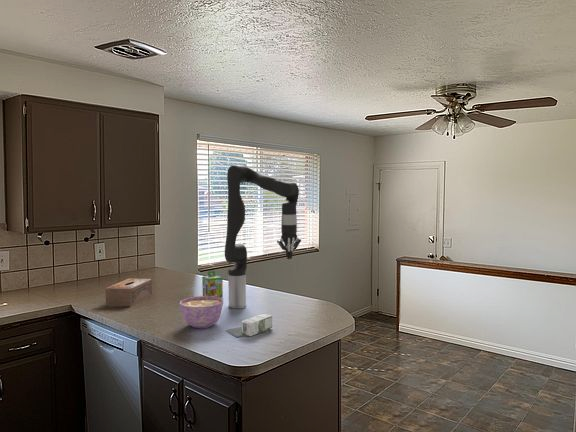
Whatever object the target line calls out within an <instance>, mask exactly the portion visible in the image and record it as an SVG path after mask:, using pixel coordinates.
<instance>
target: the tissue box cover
mask: <svg viewBox="0 0 576 432" xmlns="http://www.w3.org/2000/svg"><path fill="white" fill-rule="evenodd" d="M151 295H152V296H153V279H152V278H127V279H124V280H122V281H120V282H118V283H115V284H112V285H110V286H108V287H106V288H105V306H106V307H122V306H132V307H134V306H135V305H137V304H139V303H141V302H143V301H144V300H146V299H148V298H150V297H151ZM142 300H143V301H142ZM140 301H141V302H140ZM138 302H139V303H138ZM136 303H137V304H136Z"/></svg>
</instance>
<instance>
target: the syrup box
mask: <svg viewBox="0 0 576 432" xmlns="http://www.w3.org/2000/svg"><path fill="white" fill-rule="evenodd" d="M241 327H242V334H244V335H247V336H249V337H252V336H255V335H257V334H261V333H260V332H262V333H264V332H263V331H265V330H270V329H272V328H273V315H269V314H267V313H261V314H259V315H256V316H253V317H250V318H247V319H243V320H242V321H241Z"/></svg>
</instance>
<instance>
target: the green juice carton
mask: <svg viewBox="0 0 576 432" xmlns="http://www.w3.org/2000/svg"><path fill="white" fill-rule="evenodd" d="M223 279H224V278H223V277H222V276H219V275H217V274H216V271H215V270H209V271H207V275H205V276H202V277H201V280H202V285H201V286H202V288H201V289H202V296H214V297H219V298H222V297H223V294H224V291H223Z"/></svg>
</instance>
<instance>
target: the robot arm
mask: <svg viewBox="0 0 576 432" xmlns="http://www.w3.org/2000/svg"><path fill="white" fill-rule="evenodd" d="M226 176H227V177H226V179H227V216H226V217H227V223H226V237H225V245H224V259H225V261H226V262H227V263H230V264H231V263H232V264H233V263H235V264H234V265H233V266H231V267H230V268H229V269H228V271H227V275H228V276H227V277H228V278H227V280H228V307H229V308H231V309H243V308H245V307H246V306H247V284H246V283H247V281H246V280H247V278H246V275H247V274H246V272H247V266H248V251H247V247H246V245H245V244H242V243H238V244H236V242H237V241H236V240H237V237H238V235H239V232H240V230H241V229H242V228H243V225H244V224H245V221H246V206H245V204H244V200H243V198H242V196H241V184H243V183H250V184H254V185H257V186H258V187H259V188H261V189H263V190H265V191H268V192H272V193H275V194H276V195H277V196H280V197H282V198H283V197H284V198H285V201H284V202H283V203H282V204H281V224H280V225H281V227H280V228H281V230H280V231H281V236H280V238H279V240H277V241H276V242H277V244H278V246H279V247H280V248H281V249H282V250H283V251H284V252H285V257H286V259H287V260H291V259H292V258H293V251H295V250H297V248H298V246H300V243H301V242H302V239H301V238H299V237H298V235H297V233H298V229H297V228H298V219H297V205H298V200H299V194H300V189H299V186H298V184H297V183H295V182H284V181H281V179H279V178H276V177H274V176H270V175H267V174H262V173H260V172H258V171H255V170H253V169H252V168H250V167H248V166H246V165H243V164H233V165H231V166H229V167H228V169H227V172H226Z"/></svg>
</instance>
